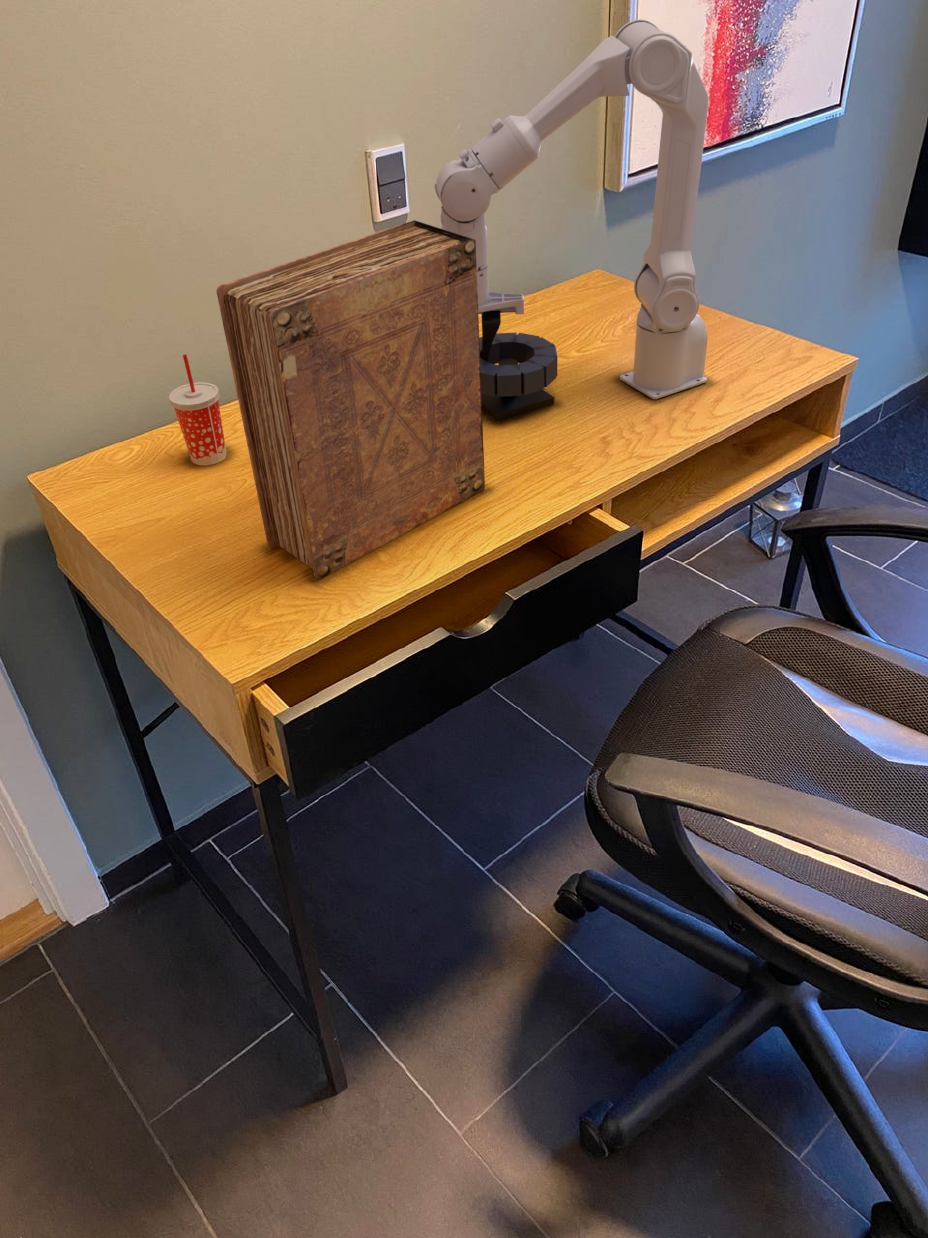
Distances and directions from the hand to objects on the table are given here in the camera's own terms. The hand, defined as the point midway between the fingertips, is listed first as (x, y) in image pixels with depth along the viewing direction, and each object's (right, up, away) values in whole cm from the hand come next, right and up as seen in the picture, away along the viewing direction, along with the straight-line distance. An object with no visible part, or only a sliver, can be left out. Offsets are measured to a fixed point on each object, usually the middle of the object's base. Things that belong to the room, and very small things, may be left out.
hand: (470, 365), depth 134 cm
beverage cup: (-34, -13, -5) cm, 37 cm away
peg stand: (+5, -4, +3) cm, 7 cm away
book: (-11, -22, -18) cm, 30 cm away
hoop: (+5, -1, +1) cm, 5 cm away
